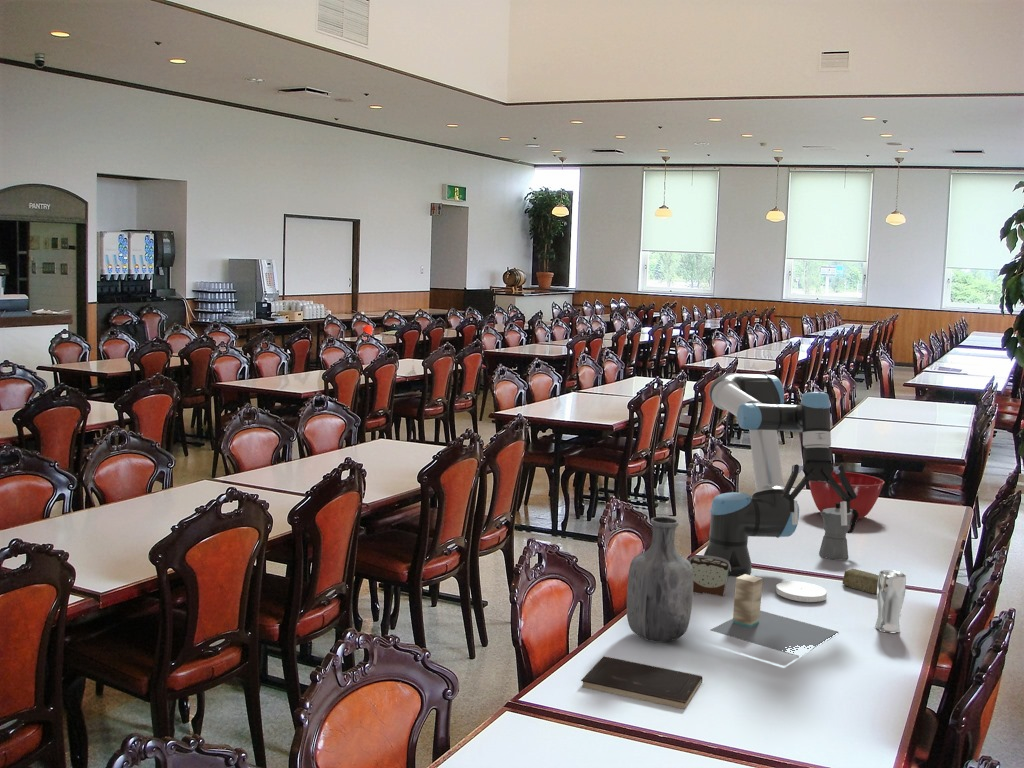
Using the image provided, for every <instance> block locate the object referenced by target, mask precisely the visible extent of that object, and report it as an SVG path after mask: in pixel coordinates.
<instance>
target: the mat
mask: <svg viewBox="0 0 1024 768" xmlns="http://www.w3.org/2000/svg"><path fill="white" fill-rule="evenodd" d="M710 632H715V633H719V634H721V635H726V636H728V637H730V638H731V637H733V638H735V639H739V640H742V641H745V642H749V643H753V644H755V645H759V646H762V647H766V648H769V649H772V650H776V651H779V652H782V650H783V653H786V652H785V651H787V650H786V649H788V648H792V649H794V648H793V647H795V646H797V645H798V646H800V647H801V646H803V645H805V646H806V647H807V646H809V645H813V646H816V645H818V644H820V643H822V642H823V641H825V640H826V639H828V638H830V637H832V636H833V635H835V634H836V633H838V634H839V631H837V630H833V629H830V628H826V627H823V626H819V625H815V624H811V623H808V622H804V621H801V620H797V619H793V618H789V617H785V616H782V615H778V614H775V613H771V612H768V611H764V610H760V618H759V623H758V624H756V625H754V626H752V627H747V626H743V625H740V624H736V623H733V618H731V619H729V620H727V621H725V622H723V623H721V624H719V625H717V626H714V627H713V628H711V629H710ZM835 636H836V635H835ZM832 638H833V637H832ZM830 639H831V638H830ZM822 644H823V643H822ZM789 646H791V647H789ZM785 647H787V648H785ZM795 648H799V647H795ZM804 648H805V647H804ZM810 648H811V647H810ZM792 649H790V650H792ZM807 649H809V648H807ZM796 650H798V649H796ZM792 651H795V650H792ZM790 652H791V651H790ZM793 653H794V652H793Z"/></svg>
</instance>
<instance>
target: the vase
mask: <svg viewBox="0 0 1024 768" xmlns="http://www.w3.org/2000/svg"><path fill="white" fill-rule="evenodd" d="M650 525H651V526H652V534H651V535H652V536H651V537H652V538H651V543H650V546H649V548H647V550H646V551H645V552H641V553H639V554H637V555H635V556H634V557H633V558H632V560H631V562H630V564H629V569H628V579H627V585H626V586H627V589H626V590H627V591H626V617H627V622H628V623H627V624H628V626H629V628H630V629H631V631H632V632H633V633H634V634H635V635H637V636H638V637H640V638H642V639H643V640H646V641H650V642H654V643H655V642H656V643H666V642H672V641H676V640H678V639H679V638H681V637H683V636H684V635H685V634H686V632H687V631H688V628H689V624H690V621H691V614H692V609H693V608H692V607H693V597H694V595H693V594H694V593H693V569H692V565H691V564H690V562H689V559H687V558H686V557H683V556H682V555H680V554H679V552H678V551H677V549H676V546H675V535H676V529H677V527H678V526H679V521H678V519H676V518H672V517H667V516H655V517H651V518H650Z"/></svg>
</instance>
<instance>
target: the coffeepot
mask: <svg viewBox="0 0 1024 768" xmlns="http://www.w3.org/2000/svg"><path fill="white" fill-rule="evenodd" d="M835 504H836V508H827V509H824V510H822V513H821V512H820V516H822V524H823V525H822V527H823V531H824V535H823V537H822V541H821V545H820V549H819V550H818V551H819V552H818V554H819V556H820V557H822V556H823V557H822V558H824V557H827V558H826V559H828V558H831V559H830V560H833V559H845V560H847V559H848V558H849V551H848V539H847V534H852V533H853V532H854V530H855V527H856V523H857V521H858V520H857V519H858V516H859V514H858V512H857V511H856V509H850V513H847V525H846V526H841V509H840V503H835ZM852 514H853V515H854V516H853V520H851V517H852ZM846 558H847V559H846Z"/></svg>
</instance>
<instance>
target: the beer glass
mask: <svg viewBox="0 0 1024 768" xmlns="http://www.w3.org/2000/svg"><path fill="white" fill-rule="evenodd" d="M878 574H879V578H878V584H877V594H876V602H877V618H876V619H877V620H876V623H875V626H874V628H875V627H876V628H877V629H879V630H881V631H885V632H898V633H900V632H901V628H900V627H901V626H900V615H901V612H902V608H903V605H904V602H905V597H906V588H907V587H906V586H907V582H906V580H907V575H906V574H905V573H903V572H900V571H896V570H888V569H887V570H886V569H884V570H879V572H878ZM876 628H875V629H876ZM877 629H876V630H877ZM879 630H878V631H879ZM881 631H880V632H881ZM899 631H900V632H899ZM885 632H884V633H885Z"/></svg>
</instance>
